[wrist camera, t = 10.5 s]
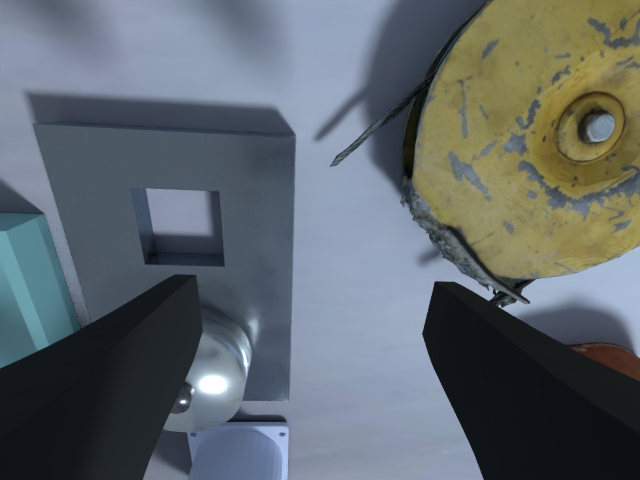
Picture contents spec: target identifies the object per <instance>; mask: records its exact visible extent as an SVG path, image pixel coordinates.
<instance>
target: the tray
mask: <svg viewBox="0 0 640 480" xmlns="http://www.w3.org/2000/svg"><path fill="white" fill-rule="evenodd" d="M80 329H81V328H80V325H79V321H78V318H77V315H76V312H75V309H74V306H73V303H72V299H71V296H70V293H69V290H68V287H67V284H66V281H65V278H64V274H63V271H62V268H61V265H60V262H59V259H58V256H57V252H56V249H55V246H54V243H53V240H52V237H51V234H50V230H49V227H48V224H47V221H46V218H45V215H44V214H24V213H0V368H2V367H4V366H7V365H9V364H11V363H13V362H15V361H18V360H20V359H22V358H24V357H26V356H28V355H30V354H32V353H35V352H37V351H39V350H41V349H43V348H45V347H47V346H49V345H51V344H53V343H55V342H57V341H59V340H61V339H63V338H65V337H67V336H69V335H71V334H73V333H74V332H76V331H78V330H80Z"/></svg>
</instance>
